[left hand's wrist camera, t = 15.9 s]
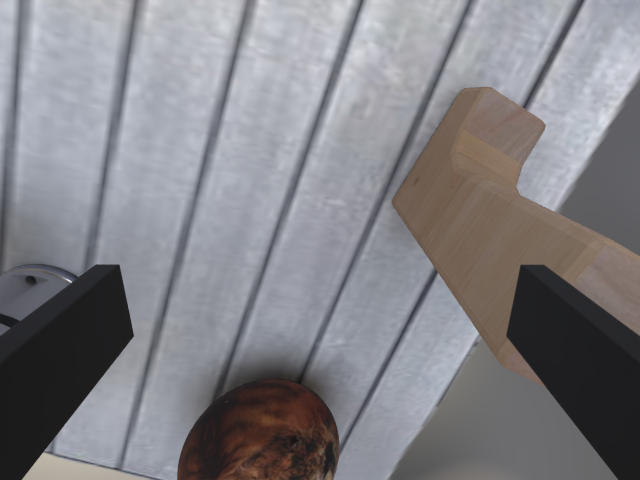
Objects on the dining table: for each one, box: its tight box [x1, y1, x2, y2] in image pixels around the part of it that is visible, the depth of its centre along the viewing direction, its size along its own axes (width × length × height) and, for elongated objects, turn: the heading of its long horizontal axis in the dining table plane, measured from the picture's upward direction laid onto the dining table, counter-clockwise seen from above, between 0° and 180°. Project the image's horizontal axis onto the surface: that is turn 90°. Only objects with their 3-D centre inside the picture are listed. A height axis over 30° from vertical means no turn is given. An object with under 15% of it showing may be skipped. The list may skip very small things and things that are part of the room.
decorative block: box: [392, 87, 640, 387], centre depth 30 cm, size 8×15×30 cm, turn 151°
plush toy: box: [177, 379, 339, 480], centre depth 50 cm, size 22×18×20 cm
